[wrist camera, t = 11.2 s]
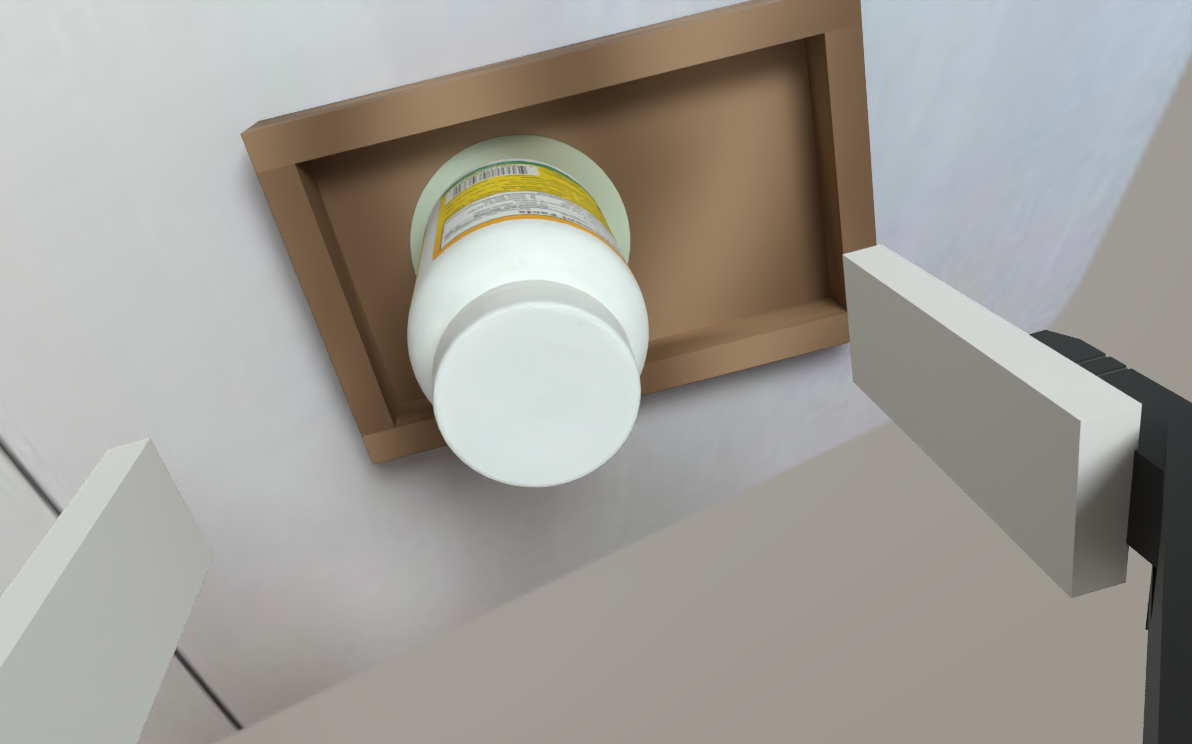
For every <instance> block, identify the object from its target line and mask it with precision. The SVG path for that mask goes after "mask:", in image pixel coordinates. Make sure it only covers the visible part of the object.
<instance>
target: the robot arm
mask: <svg viewBox="0 0 1192 744" xmlns="http://www.w3.org/2000/svg"><path fill="white" fill-rule="evenodd" d="M843 267H844V278H845V290H846V302H847V313H848V325H849V336H850V348H851V360H852V371H853V382H854V383H855V384H856V385H857V386H858V387H859V388H860V389H861V390H862V391H863V392H864V393H865V394H866V395H867V396H868V397H869V398H870V399H871V400H872V401H873V402H874V403H875V404H876V405H877V406H878V407H879V408H880V409H881V410H882V411H883V412H884V413H885V414H886V415H887V416H889V417H890V418H891V419H892V420H893V421H894V422H895V423H896V424H897V425H898V426H899V427H900V428H901V429H902V430H903V431H904V432H905V433H906V434H907V435H908V436H909V437H910V438H911V439H912V440H913V441H914V442H915V443H916V444H917V445H918V446H919V447H920V448H921V449H922V450H923V451H924V452H925V453H926V454H927V455H928V456H929V457H930V458H931V459H932V460H933V461H934V462H935V463H936V464H937V465H938V466H939V467H940V468H941V469H942V470H943V471H944V472H945V473H946V474H947V475H948V476H949V477H950V478H951V479H952V480H953V481H954V482H955V483H956V484H957V485H958V486H959V487H960V488H961V489H962V490H963V491H964V492H965V493H966V494H967V495H968V496H969V497H970V498H971V499H972V500H973V501H974V502H975V503H976V504H977V505H978V506H979V507H980V508H981V509H982V510H983V511H984V512H985V513H986V514H987V515H988V516H989V517H990V518H991V519H992V520H993V521H994V522H995V523H996V524H997V525H998V526H999V527H1000V528H1001V529H1002V530H1003V531H1004V532H1005V533H1006V534H1007V535H1008V536H1009V537H1010V538H1011V539H1012V540H1013V541H1014V542H1016V544H1017V545H1018V546H1020V548H1021V549H1022V550H1023V551H1024V552H1025V553H1026V554H1028V556H1029V557H1030V558H1031V559H1032V560H1033V561H1034V562H1035V563H1036V564H1037V565H1038V566H1039V567H1041V569H1043V571H1044V572H1045V573H1046V574H1047V575H1048V576H1050V577H1051V579H1053V581H1054V582H1056V584H1057V585H1058V586H1060V587H1061V588H1062V590H1064V591H1065V592H1066V593H1067V594H1068V595H1069V596H1070V597H1071V598H1073V597H1076V596H1080V595H1084V594H1087V593H1090V592H1094V591H1097V590H1101V589H1104V588H1108V587H1111V586H1115V585H1118V584H1122V583H1125V582H1126V572H1127V561H1128V550H1129V546H1131V547H1132V548H1133V549H1134V550H1135V551H1137V552H1138V553H1139V554H1140V555H1141V556H1143V557H1144V558H1145V559H1146V560H1147V561H1149V562H1150V563H1151V564H1152V575H1151V584H1150V593H1149V602H1148V612H1147V620H1146V630H1148V645H1147V667H1146V686H1145V708H1144V728H1143V744H1192V403H1191V402H1189V401H1188V400H1186V399H1184V398H1182V397H1181V396H1179V395H1177V394H1175V393H1174V392H1172V391H1170V390H1168V389H1166V388H1165V387H1163V386H1161V385H1159V384H1158V383H1156V382H1154V381H1152V380H1150V379H1149V378H1147V377H1145V376H1144V375H1142V374H1140V373H1138V372H1137V371H1135V370H1133V369H1127V368H1126V365H1124V364H1123V363H1121V362H1119V361H1117V360H1116V359H1114V358H1112V357H1106V355H1105V353H1103V352H1101V351H1100V350H1098V349H1096V348H1094V347H1093V346H1091V345H1089V344H1087V343H1085V342H1084V341H1082V340H1080V339H1077V338H1074V337H1070V336H1066V335H1062V334H1059V333H1055V332H1051V331H1048V330H1043V331H1040V332H1036V333H1032V334H1029V335H1028V334H1027V333H1025V332H1024V331H1022V330H1020V329H1019V328H1017V327H1015V326H1014V325H1012V324H1010V323H1009V322H1007V321H1006V320H1004V319H1002V318H1001V317H999V316H997V315H996V314H994V313H993V312H991V311H989V310H988V309H986V308H984V307H983V306H981V305H979V304H978V303H976V302H975V301H973V300H971V299H970V298H968V297H966V296H965V295H963V294H961V293H960V292H958V291H957V290H955V289H953V288H952V287H950V286H948V285H947V284H945V283H944V282H942V281H940V280H939V279H937V278H935V277H934V276H932V275H930V274H929V273H927V272H926V271H924V270H922V269H921V268H919V267H917V266H916V265H914V264H912V263H911V262H909V261H908V260H906V259H904V258H903V257H901V256H899V255H898V254H896V253H895V252H893V251H891V250H890V249H888V248H886V247H885V246H883V245H881V244H880V245H877V246H873V247H869V248H865V249H862V250H858V251H854V252H850V253H846V254H843ZM213 557H214V555H213V553H212V552H211V550H210V548H209V546H208V544H207V542H206V540H205V538H204V537H203V535H202V533H201V531H200V529H199V527H198V525H197V524H196V522H195V520H194V518H193V516H192V514H191V512H190V510H189V509H188V507H187V505H186V503H185V501H184V499H183V497H182V496H181V494H180V492H179V490H178V488H177V486H176V484H175V483H174V481H173V479H172V477H171V475H170V473H169V471H168V469H167V468H166V466H165V464H164V462H163V460H162V458H161V456H160V455H159V453H158V451H157V449H156V447H155V445H154V443H153V441H152V440H151V438H148V439H144V440H140V441H136V442H133V443H129V444H125V445H121V446H118V447H114V448H110V449H108V450H107V452H106V453H105V454H104V456H103V457H102V458H101V460H100V461H99V463H98V464H97V465H96V467H95V468H94V469H93V471H92V472H91V474H90V475H89V476H88V478H87V479H86V480H85V482H84V483H83V484H82V486H81V487H80V489H79V490H78V491H77V493H76V494H75V495H74V497H73V498H72V500H71V501H70V502H69V504H68V505H67V506H66V508H65V509H64V511H63V512H62V513H61V515H60V516H59V517H58V519H57V520H56V522H55V523H54V524H53V526H52V527H51V528H50V530H49V531H48V533H47V534H46V535H45V537H44V538H43V539H42V541H41V542H40V544H39V545H38V546H37V548H36V549H35V550H34V552H33V553H32V555H31V556H30V557H29V559H28V560H27V561H26V563H25V564H24V566H23V567H22V568H21V570H20V571H19V572H18V574H17V575H16V577H15V578H14V579H13V581H12V582H11V583H10V585H9V586H8V588H7V589H6V590H5V592H4V593H3V594H2V596H1V597H0V744H137V742H138V740H139V737H140V735H141V733H142V730H143V728H144V725H145V723H146V720H147V718H148V716H149V713H150V711H151V708H152V706H153V703H154V701H155V698H156V696H157V694H158V691H159V689H160V686H161V684H162V681H163V679H164V676H165V674H166V672H167V669H168V667H169V664H170V662H171V659H172V657H173V654H174V652H175V650H176V647H177V645H178V642H179V640H180V637H181V635H182V632H183V630H184V628H185V625H186V623H187V620H188V618H189V615H190V613H191V611H192V608H193V606H194V603H195V601H196V598H197V596H198V593H199V591H200V589H201V586H202V584H203V581H204V579H205V576H206V574H207V571H208V569H209V567H210V564H211V562H212V559H213Z"/></svg>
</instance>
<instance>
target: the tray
mask: <svg viewBox="0 0 1192 744" xmlns="http://www.w3.org/2000/svg"><path fill="white" fill-rule="evenodd" d="M241 137H242V139H243V142H244V144H245V147H246V149H247V152H248V154H249V157H250V159H251V162H252V164H253V167H254V169H255V172H256V174H257V176H258V179H259V181H260V184H261V186H262V189H263V191H264V194H265V196H266V199H267V201H268V204H269V206H270V209H271V211H272V214H273V216H274V219H275V221H276V224H277V226H278V229H279V231H280V234H281V236H282V239H283V241H284V244H285V246H286V249H287V251H288V254H289V256H290V259H291V261H292V264H293V266H294V269H295V271H296V274H297V276H298V279H299V281H300V284H301V286H302V288H303V291H304V293H305V296H306V298H307V301H308V303H309V306H310V308H311V311H312V313H313V316H314V318H315V321H316V323H317V326H318V328H319V331H320V333H321V336H322V338H323V341H324V343H325V346H326V348H327V351H328V353H329V356H330V358H331V361H332V363H333V366H334V368H335V371H336V373H337V376H338V378H339V381H340V383H341V386H342V388H343V391H344V393H345V396H346V398H347V401H348V403H349V405H350V408H351V410H352V413H353V415H354V418H355V420H356V423H357V425H358V428H359V430H360V433H361V435H362V438H363V440H364V443H365V445H366V448H367V450H368V453H369V455H370V458H371V460H372V463H373V464H376V463H380V462H384V461H388V460H392V459H395V458H399V457H403V456H407V455H411V454H415V453H419V452H423V451H427V450H431V449H434V448H438V447H442V446H446V445H447V443H446V442H445V440H444V438H443V436H442V434H441V432H440V430H439V428H438V425H437V422H436V419H435V415H434V410H433V405H432V404H431V403H430V401H429V400H428V398H427V397H426V395H425V394H424V392H423V391H422V389H421V387H420V385H419V383H418V381H417V379H416V377H415V374H414V371H413V368H412V365H411V361H410V357H409V351H408V343H407V327H408V317H409V310H410V306H411V301H412V296H413V291H414V286H415V281H416V276H417V271H418V265H419V260H420V254H421V249H422V244H423V238H424V233H425V229H426V225H427V222H428V219H429V216H430V213H431V211H432V209H433V207H434V205H435V204H436V202H437V200H438V199H439V197H440V196H441V194H442V193H443V192H444V191H445V190H446V189H447V188H448V187H449V186H450V185H451V184H452V183H453V182H454V181H455V180H456V179H458V178H459V177H460V176H461V175H463V174H464V173H466V172H468V171H469V170H471V169H473V168H475V167H477V166H480V165H482V164H485V163H488V162H492V161H497V160H502V159H513V158H518V159H530V160H535V161H540V162H543V163H547V164H549V165H552V166H554V167H557V168H559V169H560V170H562V171H564V172H566V173H567V174H569V175H571V176H572V177H573V178H575V179H576V180H577V181H578V182H579V183H581V184H582V185H583V186H584V187H585V188H586V189H587V191H588V192H589V193H590V194H591V196H592V197H593V199H594V200H595V202H596V203H597V205H598V207H599V208H600V210H601V212H602V214H603V216H604V218H605V220H606V222H607V224H608V226H609V228H610V230H611V232H612V234H613V236H614V238H615V240H616V242H617V244H618V246H619V248H620V250H621V252H622V254H623V256H624V258H625V260H626V262H627V264H628V266H629V268H630V270H631V271H632V273H633V275H634V277H635V279H636V281H637V283H638V286H639V288H640V290H641V293H642V296H643V299H644V302H645V306H646V310H647V316H648V325H649V341H648V349H647V355H646V360H645V363H644V367H643V370H642V372H641V375H640V385H641V395H645V394H649V393H653V392H657V391H661V390H665V389H669V388H672V387H676V386H680V385H684V384H688V383H692V382H696V381H700V380H704V379H708V378H711V377H715V376H719V375H723V374H727V373H731V372H735V371H739V370H743V369H747V368H750V367H754V366H758V365H762V364H766V363H770V362H774V361H778V360H782V359H786V358H789V357H793V356H797V355H801V354H805V353H809V352H813V351H817V350H821V349H825V348H828V347H832V346H836V345H840V344H844V343H848V342H850V336H849V325H848V313H847V302H846V290H845V278H844V267H843V254H846V253H850V252H854V251H858V250H862V249H865V248H869V247H873V246H876V231H875V216H874V200H873V185H872V170H871V155H870V140H869V124H868V109H867V94H866V79H865V64H864V48H863V33H862V18H861V3H860V0H751V1H747V2H743V3H738V4H734V5H730V6H726V7H722V8H718V9H714V10H710V11H706V12H702V13H698V14H694V15H690V16H686V17H681V18H677V19H673V20H669V21H665V22H661V23H657V24H653V25H649V26H645V27H641V28H637V29H633V30H628V31H624V32H620V33H616V34H612V35H608V36H604V37H600V38H596V39H592V40H588V41H584V42H580V43H576V44H571V45H567V46H563V47H559V48H555V49H551V50H547V51H543V52H539V53H535V54H531V55H527V56H523V57H518V58H514V59H510V60H506V61H502V62H498V63H494V64H490V65H486V66H482V67H478V68H474V69H470V70H466V71H461V72H457V73H453V74H449V75H445V76H441V77H437V78H433V79H429V80H425V81H421V82H417V83H413V84H408V85H404V86H400V87H396V88H392V89H388V90H384V91H380V92H376V93H372V94H368V95H364V96H360V97H356V98H351V99H347V100H343V101H339V102H335V103H331V104H327V105H323V106H319V107H315V108H311V109H307V110H303V111H298V112H294V113H290V114H286V115H282V116H278V117H274V118H270V119H266V120H262V121H258V122H257V123H256V124H254V125H253V126H251V127H250V128H248V129H247V130H245V131H244V132H243V133H241Z"/></svg>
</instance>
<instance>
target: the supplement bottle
mask: <svg viewBox="0 0 1192 744" xmlns="http://www.w3.org/2000/svg"><path fill="white" fill-rule="evenodd" d="M648 341H649V325H648V316H647V310H646V306H645V302H644V299H643V296H642V293H641V290H640V288H639V286H638V283H637V281H636V279H635V277H634V275H633V273H632V271H631V270H630V268H629V266H628V264H627V262H626V260H625V258H624V256H623V254H622V252H621V250H620V248H619V246H618V244H617V242H616V240H615V238H614V236H613V234H612V232H611V230H610V228H609V226H608V224H607V222H606V220H605V218H604V216H603V214H602V212H601V210H600V208H599V207H598V205H597V203H596V202H595V200H594V199H593V197H592V196H591V194H590V193H589V192H588V191H587V189H586V188H585V187H584V186H583V185H582V184H581V183H579V182H578V181H577V180H576V179H575V178H573V177H572V176H571V175H569V174H567V173H566V172H564V171H562V170H560V169H559V168H557V167H554V166H552V165H549V164H547V163H543V162H540V161H535V160H530V159H518V158H513V159H502V160H497V161H492V162H488V163H485V164H482V165H480V166H477V167H475V168H473V169H471V170H469V171H468V172H466V173H464V174H463V175H461V176H460V177H459V178H458V179H456V180H455V181H454V182H453V183H452V184H451V185H450V186H449V187H448V188H447V189H446V190H445V191H444V192H443V193H442V194H441V196H440V197H439V199H438V200H437V202H436V204H435V205H434V207H433V209H432V211H431V213H430V216H429V219H428V222H427V225H426V229H425V233H424V238H423V244H422V249H421V254H420V260H419V265H418V271H417V276H416V281H415V286H414V291H413V296H412V301H411V306H410V310H409V317H408V327H407V343H408V351H409V357H410V361H411V365H412V368H413V371H414V374H415V377H416V379H417V381H418V383H419V385H420V387H421V389H422V391H423V392H424V394H425V395H426V397H427V398H428V400H429V401H430V403H431V404H432V405H433V410H434V415H435V419H436V422H437V425H438V428H439V430H440V432H441V434H442V436H443V438H444V440H445V442H446V443H447V445H448V446H449V447H450V449H451V450H452V451H453V452H454V453H455V455H456V456H458V457H459V458H460V459H461V460H462V461H463V462H464V463H465V464H466V465H468V466H469V467H470V468H471V469H473V470H474V471H476V472H478V473H480V474H481V475H483V476H485V477H487V478H490V479H492V480H495V481H498V482H501V483H504V484H508V485H513V486H521V487H550V486H556V485H560V484H564V483H568V482H571V481H573V480H576V479H579V478H581V477H583V476H585V475H587V474H589V473H591V472H593V471H594V470H596V469H597V468H599V467H600V466H601V465H603V464H604V463H605V462H607V461H608V460H609V459H610V458H611V457H612V456H613V455H614V454H615V453H616V452H617V451H618V450H619V448H620V447H621V446H622V445H623V443H624V442H625V441H626V439H627V438H628V436H629V434H630V432H631V430H632V428H633V426H634V423H635V421H636V418H637V414H638V410H639V405H640V398H641V385H640V375H641V372H642V370H643V367H644V363H645V360H646V355H647V349H648Z"/></svg>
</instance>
